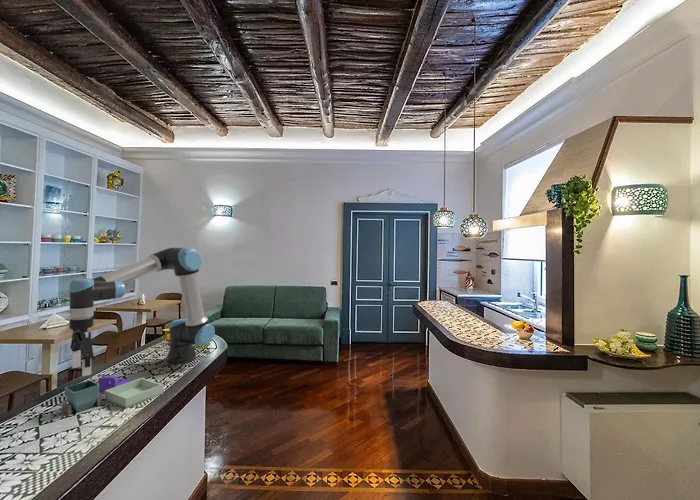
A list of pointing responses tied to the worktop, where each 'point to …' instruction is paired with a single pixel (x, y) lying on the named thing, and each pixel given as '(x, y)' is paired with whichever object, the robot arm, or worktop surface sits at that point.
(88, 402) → the flower pot
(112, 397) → the pale green square tray
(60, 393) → the worktop surface
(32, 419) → the worktop surface
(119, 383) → the bracket
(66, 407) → the holder
